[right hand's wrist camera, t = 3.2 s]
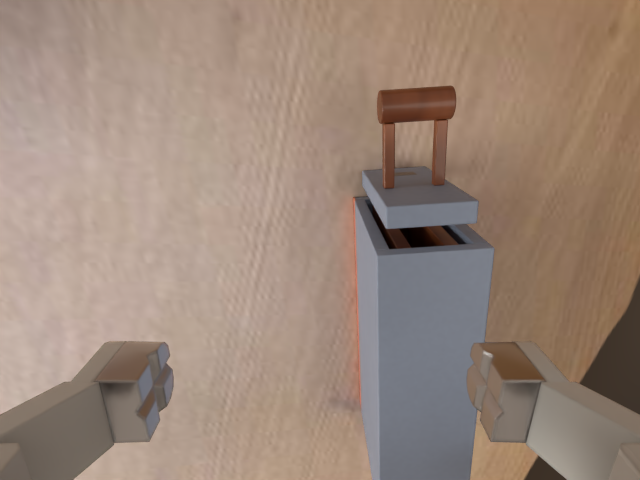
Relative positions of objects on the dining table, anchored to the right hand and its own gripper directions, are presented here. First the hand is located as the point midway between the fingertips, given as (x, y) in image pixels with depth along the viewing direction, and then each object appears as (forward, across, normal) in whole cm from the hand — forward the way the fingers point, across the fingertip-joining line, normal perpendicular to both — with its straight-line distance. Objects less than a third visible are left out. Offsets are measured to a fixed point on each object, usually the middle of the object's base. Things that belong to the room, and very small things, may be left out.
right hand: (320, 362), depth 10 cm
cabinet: (+20, +6, -10) cm, 24 cm away
